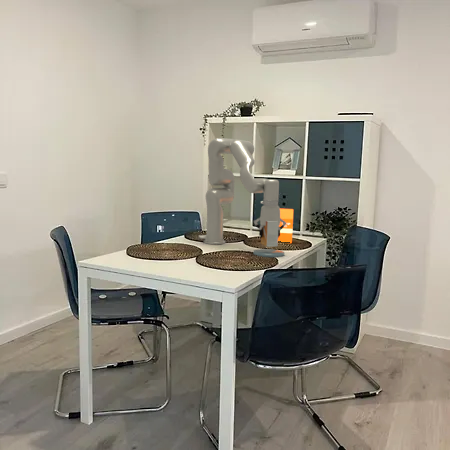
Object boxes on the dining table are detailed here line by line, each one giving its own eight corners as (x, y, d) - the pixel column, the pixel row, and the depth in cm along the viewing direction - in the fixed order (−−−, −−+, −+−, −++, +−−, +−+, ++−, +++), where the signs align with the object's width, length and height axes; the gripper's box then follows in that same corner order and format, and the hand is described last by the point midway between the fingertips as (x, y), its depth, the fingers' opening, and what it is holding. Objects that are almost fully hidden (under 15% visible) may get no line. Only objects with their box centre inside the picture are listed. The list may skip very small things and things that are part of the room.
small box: (260, 244, 248) (261, 219, 246) (271, 243, 249) (272, 219, 248) (266, 246, 240) (267, 221, 238) (277, 246, 242) (279, 221, 240)
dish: (252, 256, 238) (253, 254, 238) (253, 250, 254) (253, 248, 254) (284, 258, 237) (285, 255, 237) (283, 251, 253) (283, 249, 252)
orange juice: (291, 243, 281) (293, 209, 278) (276, 242, 282) (278, 209, 279) (292, 241, 288) (293, 208, 286) (277, 240, 290) (279, 207, 287)
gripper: (253, 203, 239) (252, 238, 241) (288, 204, 237) (286, 239, 240) (253, 202, 246) (252, 235, 249) (287, 203, 245) (286, 237, 247)
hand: (269, 237), depth 244 cm, fingers closed on small box, 8 cm apart
